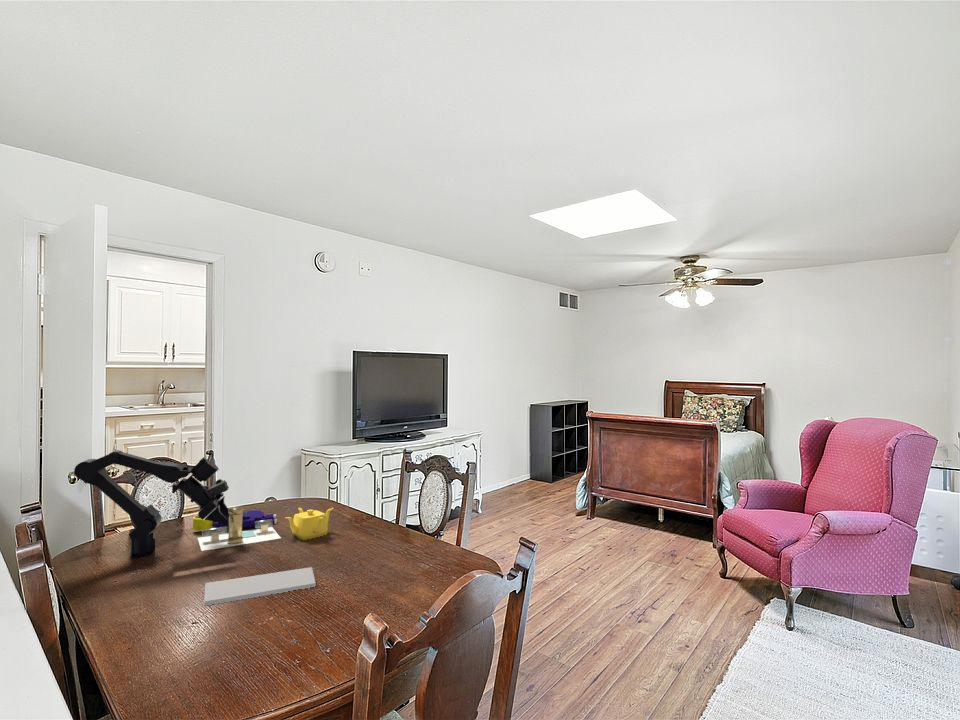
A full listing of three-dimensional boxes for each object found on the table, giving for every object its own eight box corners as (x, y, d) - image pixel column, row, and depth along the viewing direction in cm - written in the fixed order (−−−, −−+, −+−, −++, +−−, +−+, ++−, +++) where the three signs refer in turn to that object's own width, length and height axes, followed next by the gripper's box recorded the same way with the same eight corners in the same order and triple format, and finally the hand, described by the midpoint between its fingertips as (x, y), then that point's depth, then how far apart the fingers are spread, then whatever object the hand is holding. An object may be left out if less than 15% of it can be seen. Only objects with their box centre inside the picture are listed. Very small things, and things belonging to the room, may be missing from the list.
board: (201, 554, 175) (201, 550, 175) (197, 541, 188) (197, 537, 188) (281, 541, 189) (281, 537, 189) (271, 529, 202) (272, 526, 202)
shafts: (202, 543, 182) (202, 531, 182) (201, 539, 186) (201, 527, 186) (273, 532, 195) (273, 521, 195) (270, 528, 200) (270, 517, 200)
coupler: (228, 545, 181) (229, 511, 181) (226, 541, 185) (227, 507, 185) (243, 542, 183) (244, 509, 184) (241, 538, 187) (242, 506, 188)
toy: (273, 525, 214) (192, 528, 200) (275, 508, 214) (194, 510, 200) (277, 532, 203) (191, 537, 189) (279, 514, 204) (193, 517, 190)
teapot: (333, 529, 204) (333, 505, 204) (323, 541, 190) (324, 515, 190) (296, 529, 204) (297, 505, 204) (284, 541, 189) (284, 515, 190)
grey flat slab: (203, 608, 137) (204, 594, 137) (204, 590, 148) (205, 578, 148) (316, 589, 150) (316, 576, 150) (309, 574, 161) (309, 562, 161)
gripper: (209, 479, 173) (244, 509, 177) (217, 469, 191) (249, 496, 194) (182, 504, 171) (219, 534, 174) (193, 491, 188) (226, 519, 192)
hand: (229, 519), depth 184 cm, fingers open, 9 cm apart
